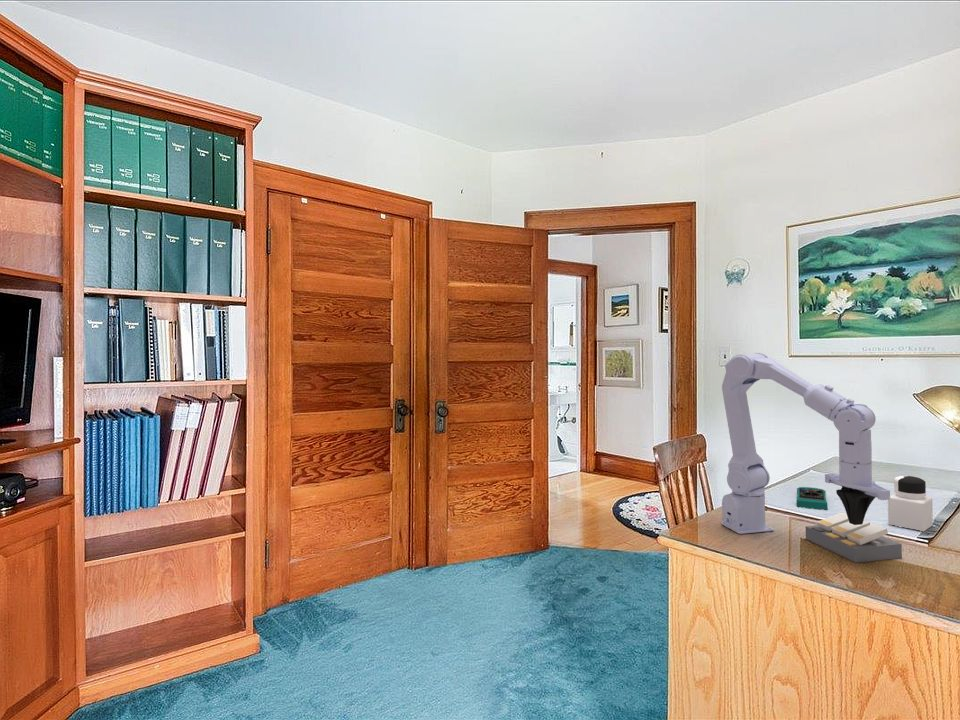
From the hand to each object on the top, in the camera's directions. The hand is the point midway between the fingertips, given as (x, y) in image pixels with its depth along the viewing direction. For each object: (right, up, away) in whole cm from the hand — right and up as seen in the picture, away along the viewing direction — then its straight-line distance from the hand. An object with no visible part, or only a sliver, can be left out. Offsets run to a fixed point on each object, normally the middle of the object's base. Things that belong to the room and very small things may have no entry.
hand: (855, 523), depth 113 cm
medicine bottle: (+26, -6, +17) cm, 31 cm away
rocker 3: (+3, -2, 0) cm, 4 cm away
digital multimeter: (+15, -6, +38) cm, 42 cm away
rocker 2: (+2, -2, +5) cm, 5 cm away
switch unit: (+2, -7, +5) cm, 9 cm away
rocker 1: (+2, -2, +9) cm, 9 cm away
